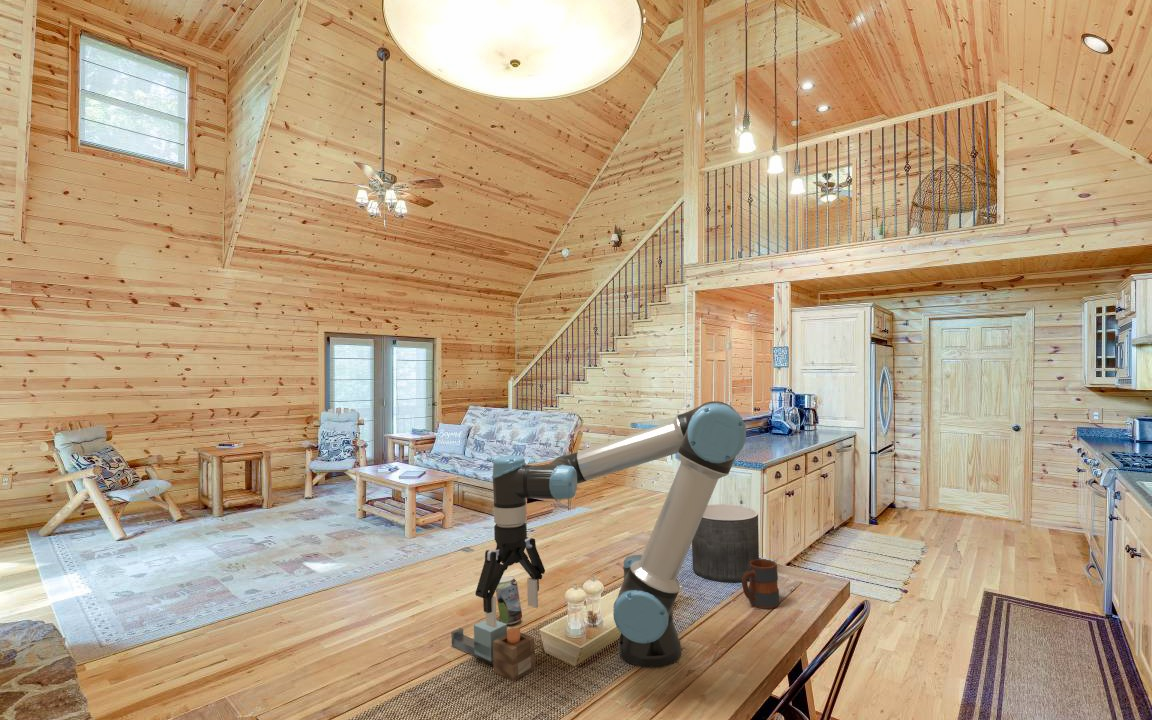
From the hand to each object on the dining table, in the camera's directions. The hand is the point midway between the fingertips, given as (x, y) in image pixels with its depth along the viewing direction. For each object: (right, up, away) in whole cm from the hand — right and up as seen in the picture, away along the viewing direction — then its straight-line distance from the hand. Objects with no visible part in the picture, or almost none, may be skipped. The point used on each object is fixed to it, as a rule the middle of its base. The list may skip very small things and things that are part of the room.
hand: (512, 615), depth 133 cm
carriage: (-6, -11, +5) cm, 13 cm away
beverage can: (-4, -13, +25) cm, 29 cm away
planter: (+65, -12, +61) cm, 90 cm away
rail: (-9, -13, +7) cm, 17 cm away
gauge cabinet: (0, -12, -1) cm, 12 cm away
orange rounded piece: (0, -7, 0) cm, 7 cm away
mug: (+68, -12, +33) cm, 76 cm away
